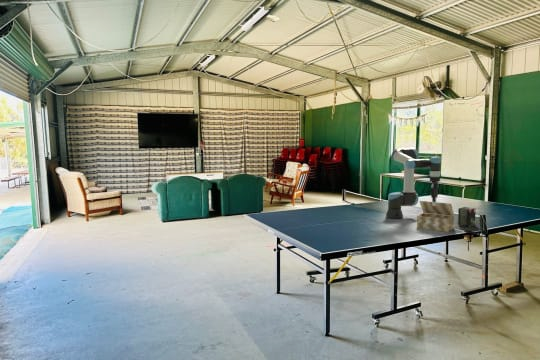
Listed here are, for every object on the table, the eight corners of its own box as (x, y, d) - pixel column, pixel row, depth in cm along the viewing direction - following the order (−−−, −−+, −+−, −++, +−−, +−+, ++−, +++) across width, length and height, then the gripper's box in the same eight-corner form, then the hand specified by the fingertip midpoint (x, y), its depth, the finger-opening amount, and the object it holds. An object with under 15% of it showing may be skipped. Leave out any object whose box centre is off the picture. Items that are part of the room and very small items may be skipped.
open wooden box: (416, 227, 289) (416, 215, 288) (423, 224, 299) (423, 212, 298) (448, 231, 273) (448, 219, 272) (453, 228, 283) (454, 216, 282)
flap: (419, 201, 291) (419, 200, 291) (423, 212, 298) (423, 211, 299) (450, 204, 274) (451, 203, 275) (454, 216, 282) (454, 214, 283)
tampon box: (469, 227, 285) (469, 209, 283) (457, 225, 292) (458, 208, 291) (475, 225, 291) (476, 208, 290) (464, 223, 299) (464, 206, 297)
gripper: (437, 177, 273) (436, 207, 275) (442, 175, 282) (441, 205, 284) (427, 176, 278) (426, 206, 280) (432, 175, 287) (432, 204, 290)
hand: (434, 205), depth 282 cm, fingers closed
